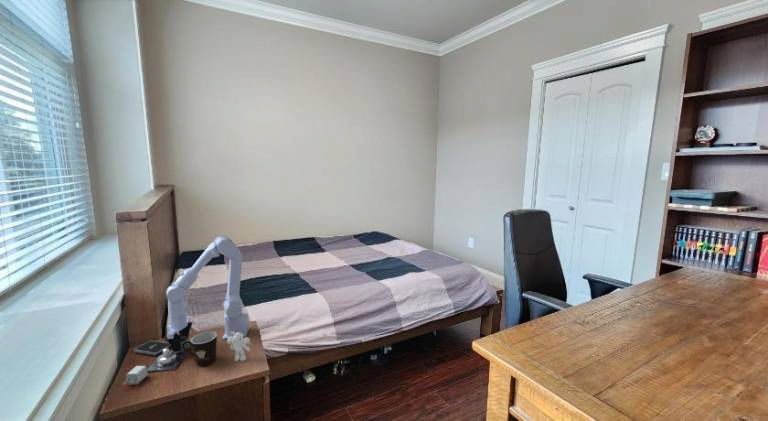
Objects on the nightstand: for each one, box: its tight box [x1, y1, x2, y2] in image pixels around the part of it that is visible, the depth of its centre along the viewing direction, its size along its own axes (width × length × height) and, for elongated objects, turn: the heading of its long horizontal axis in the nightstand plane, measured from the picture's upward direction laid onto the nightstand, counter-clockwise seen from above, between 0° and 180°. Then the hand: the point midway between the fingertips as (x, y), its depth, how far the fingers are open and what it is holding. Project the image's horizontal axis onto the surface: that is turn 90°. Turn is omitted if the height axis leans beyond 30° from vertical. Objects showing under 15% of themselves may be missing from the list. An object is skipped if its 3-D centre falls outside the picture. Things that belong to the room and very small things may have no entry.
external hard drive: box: [134, 340, 171, 358], centre depth 131 cm, size 7×11×2 cm, turn 76°
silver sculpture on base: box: [147, 348, 188, 373], centre depth 122 cm, size 10×10×6 cm
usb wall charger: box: [122, 365, 148, 386], centre depth 111 cm, size 4×7×4 cm, turn 1°
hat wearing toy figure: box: [226, 331, 251, 362], centre depth 124 cm, size 9×4×12 cm, turn 81°
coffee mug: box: [182, 331, 218, 368], centre depth 123 cm, size 12×9×10 cm
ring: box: [175, 336, 191, 353], centre depth 131 cm, size 6×6×4 cm
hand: (180, 345), depth 131 cm, fingers open, 7 cm apart
